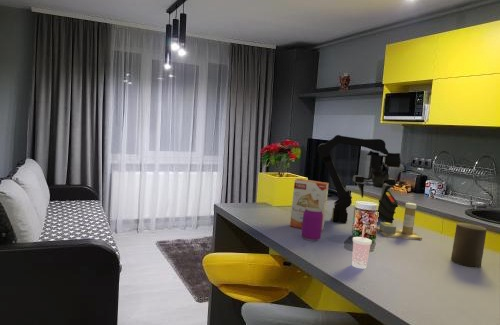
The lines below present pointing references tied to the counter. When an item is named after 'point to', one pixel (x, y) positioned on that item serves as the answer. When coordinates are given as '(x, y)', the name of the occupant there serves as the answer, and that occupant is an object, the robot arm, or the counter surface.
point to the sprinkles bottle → (409, 218)
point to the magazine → (387, 207)
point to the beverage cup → (360, 251)
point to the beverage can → (312, 224)
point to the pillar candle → (468, 245)
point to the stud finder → (387, 227)
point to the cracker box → (308, 199)
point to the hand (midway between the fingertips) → (372, 198)
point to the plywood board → (400, 234)
